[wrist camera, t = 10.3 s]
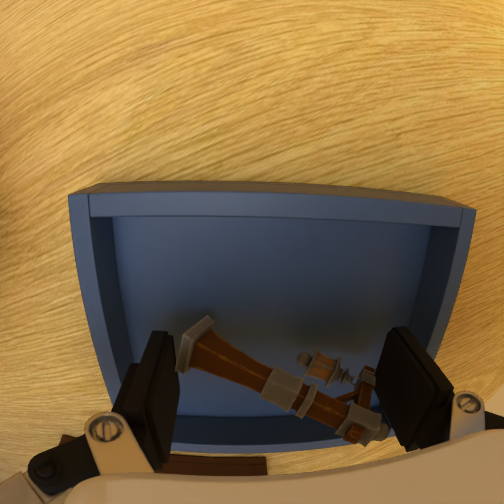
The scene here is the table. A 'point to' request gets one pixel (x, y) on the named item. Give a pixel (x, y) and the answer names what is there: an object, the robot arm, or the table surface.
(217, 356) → the wooden post with brackets
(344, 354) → the blue tray
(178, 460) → the walnut tray
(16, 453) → the table surface
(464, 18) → the table surface
